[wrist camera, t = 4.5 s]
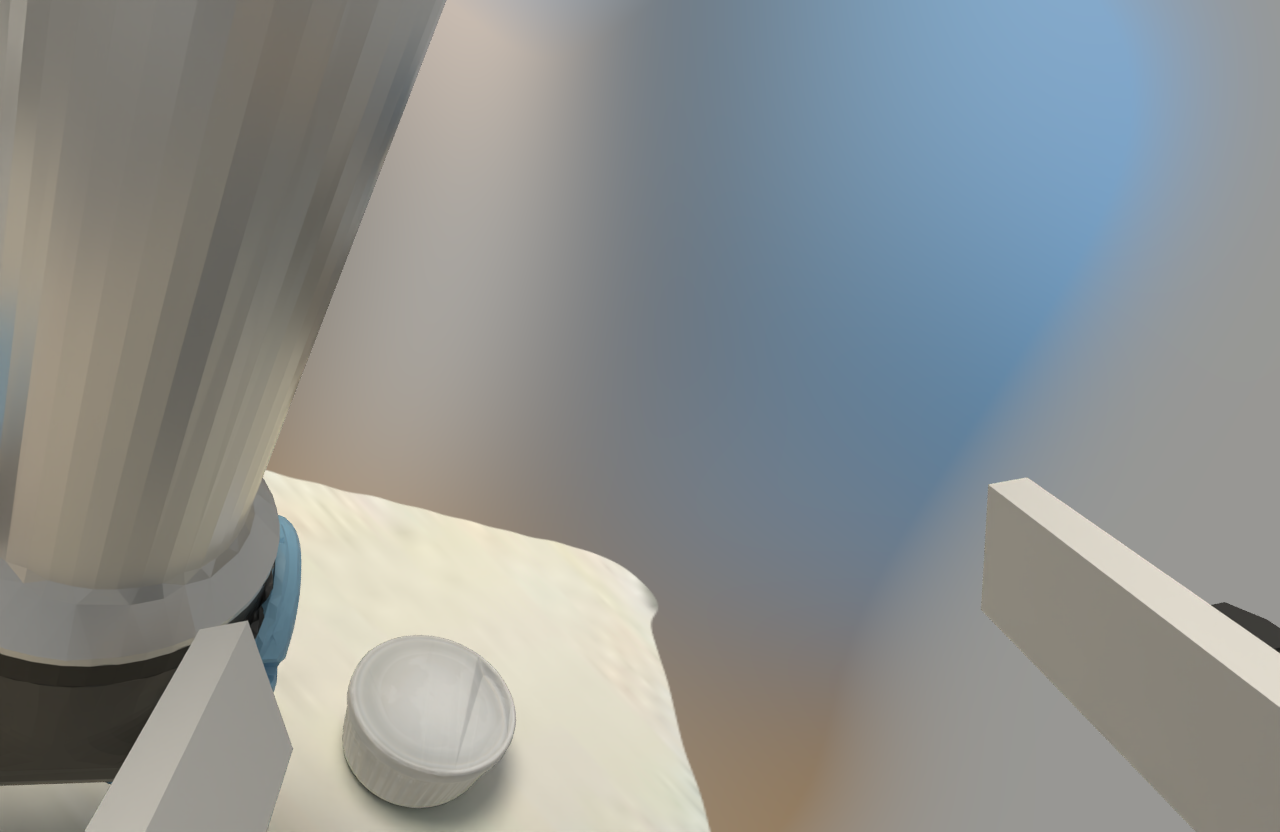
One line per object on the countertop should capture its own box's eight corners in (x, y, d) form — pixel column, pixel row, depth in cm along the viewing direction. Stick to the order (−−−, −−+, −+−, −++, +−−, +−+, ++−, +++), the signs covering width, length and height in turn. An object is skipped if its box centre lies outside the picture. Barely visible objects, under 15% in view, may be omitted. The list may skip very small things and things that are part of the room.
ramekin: (513, 804, 55) (543, 755, 53) (352, 846, 48) (380, 791, 46) (456, 674, 62) (481, 627, 60) (310, 694, 55) (332, 641, 53)
